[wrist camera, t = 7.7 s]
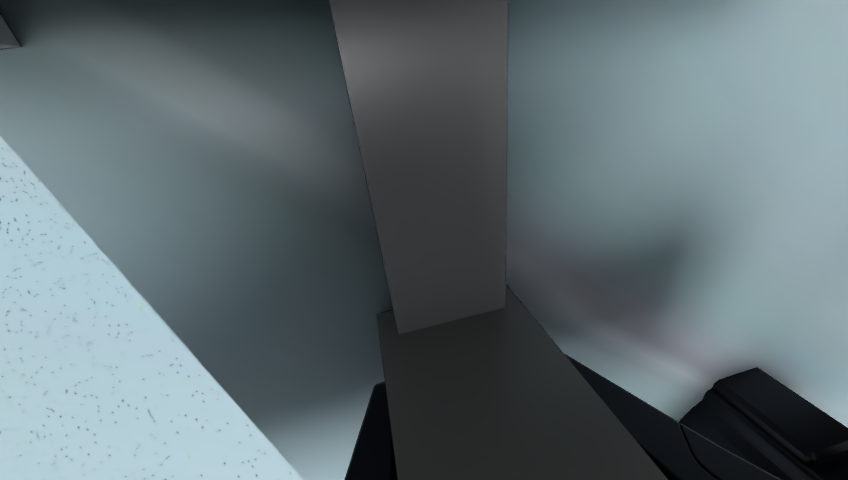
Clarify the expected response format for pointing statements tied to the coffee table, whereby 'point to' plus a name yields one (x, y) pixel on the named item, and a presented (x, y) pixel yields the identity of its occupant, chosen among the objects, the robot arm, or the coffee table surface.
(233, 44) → the coffee table surface
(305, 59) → the coffee table surface
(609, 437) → the grey angled bracket
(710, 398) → the robot arm
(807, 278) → the coffee table surface
